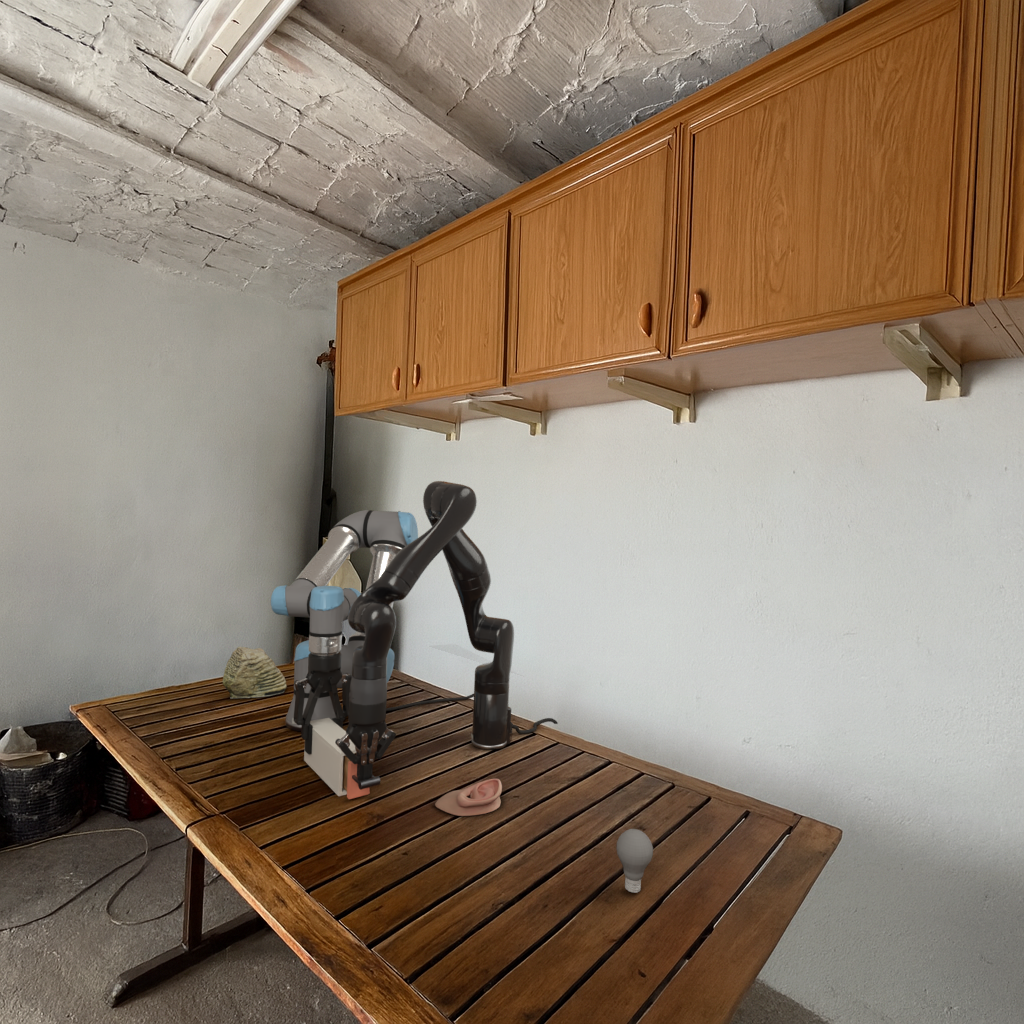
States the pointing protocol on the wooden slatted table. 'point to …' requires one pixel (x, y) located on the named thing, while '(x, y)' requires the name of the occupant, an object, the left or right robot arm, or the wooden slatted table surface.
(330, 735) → the cabinet
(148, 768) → the wooden slatted table surface
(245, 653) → the fossil
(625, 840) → the light bulb
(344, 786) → the drawer
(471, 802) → the anatomical model
